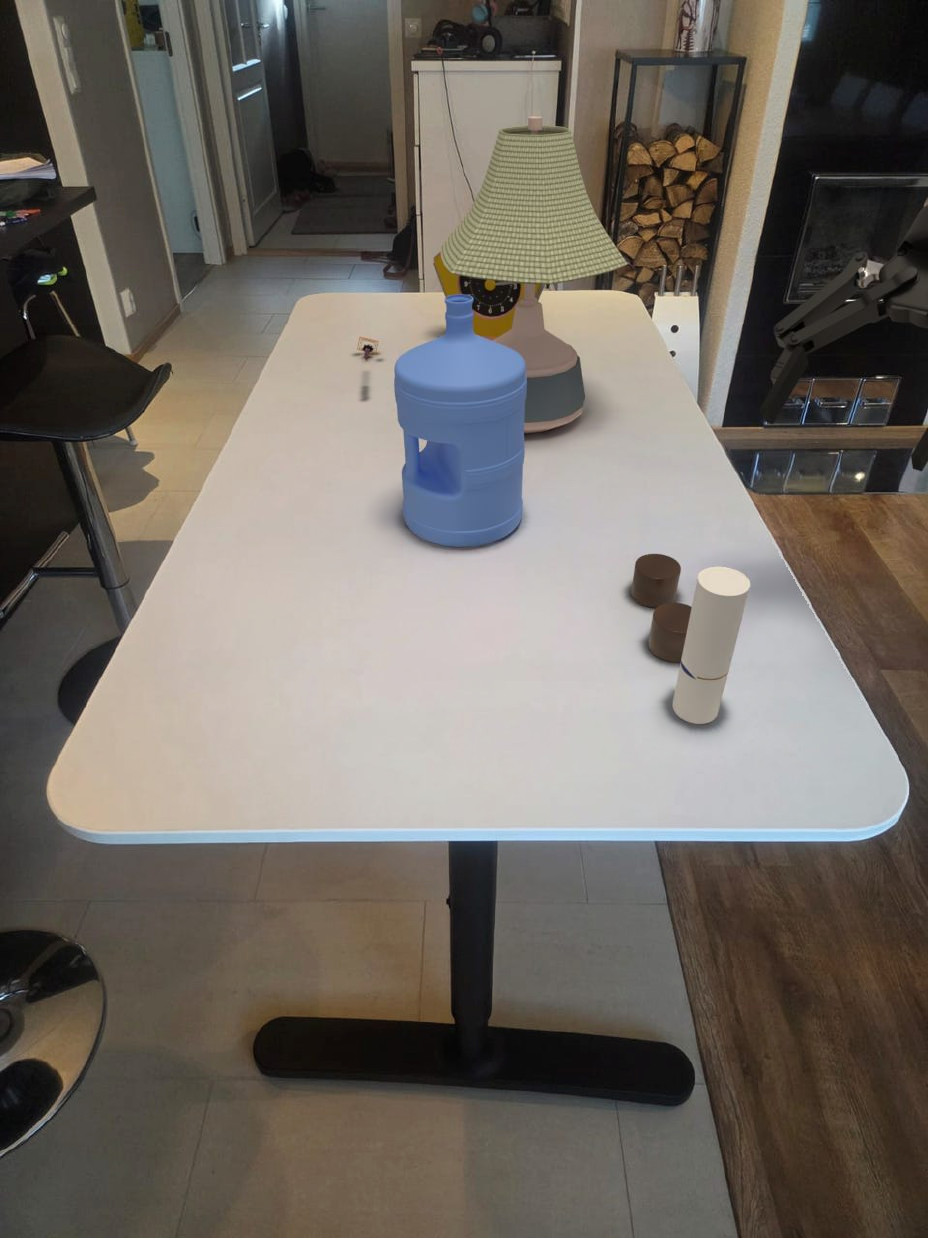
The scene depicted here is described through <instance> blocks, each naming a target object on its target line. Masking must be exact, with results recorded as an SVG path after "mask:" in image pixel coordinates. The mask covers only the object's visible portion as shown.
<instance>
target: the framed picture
mask: <svg viewBox="0 0 928 1238" xmlns="http://www.w3.org/2000/svg"><path fill="white" fill-rule="evenodd" d="M364 341H365V342H369V344H365V343H364V345H363V342H364ZM370 343H372V344H370ZM378 345H379V340H375V339H372V338H367V337H363V336H359V338H358V344H357V347H356V350H357V351H361V352H364V354H363V356H364V357H365V358H369V356H370V354H374V355H376V353H377V352H378V351H377V350H378ZM362 346H363V347H362Z"/></svg>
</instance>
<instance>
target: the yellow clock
mask: <svg viewBox="0 0 928 1238" xmlns="http://www.w3.org/2000/svg"><path fill="white" fill-rule="evenodd" d="M432 264H433V267H434V271H435V272H436V275H437V278H438V282H439V284H440V286H441V289H442V291H443V294H444V298H446V297H447V296H450V295H456V294H464V295H469V296H472V297H473V303H472V312H473V331H474V333H475V334H476V335H478V336H481V337H483V338H486V339H489V340H491V341H493V340H494V339H496V338H498V337H499V336H501V335H503V334H504V333H506V332H508V331H509V330H511V329H512V324H513V319H514V313H515V307H516V304H517V303H518V302H521V298H523V297H524V284H522V283H512V282H502V281H493V280H485V279H477V278H471V277H465V276H459V275H454V274H452V273H451V272H450V271H449V270H448V269H447V268H446V267H445V265H444V263H443V261H442V258H441V250H440V251H439V252H437V254H436V255H434V256H433V263H432ZM545 285H546V284H535V298H537V302H540V298H541V296H542V294H543V291H544V289H545Z"/></svg>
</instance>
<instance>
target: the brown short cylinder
mask: <svg viewBox="0 0 928 1238" xmlns="http://www.w3.org/2000/svg"><path fill="white" fill-rule="evenodd" d="M681 571H682V566H681V564H680V563H679V561H678V560H677V559H675V558H673V557H671V556H670V555H666V554H662V553H647V554H644V555H641V556H639V557H638V558H637V559H636V560H635V563H634V569H633V577H632V583H631V591H630V594H631V598H632V599H633V600H634V601H635V602H636V603H638V604H639V605H641V606H644V607H647V608H653V609H656V608H657V607H658V606H660V605H662V604H666V603H675V601H676V599H677V595H678V594H677V593H678V587H679V582H680V578H681V577H680V576H681Z"/></svg>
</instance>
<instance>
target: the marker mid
mask: <svg viewBox="0 0 928 1238" xmlns="http://www.w3.org/2000/svg"><path fill="white" fill-rule="evenodd" d="M691 609H692V605H689V604H685V603H682V602H673V603H666V604H662V605H660V606H658V607H657V608H654V610H653V613H652V619H651V624H650V629H649V636H648V644H647V645H648V646H647V647H648V649H649V651H650V652H651V653H652V654H653V656H655V657H657V658H658V659H661V660H662V661H666V662H672V663H681V659H682V654H683V649H684V644H685V639H686V634H687V629H688V624H689V619H690V614H691Z"/></svg>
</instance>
